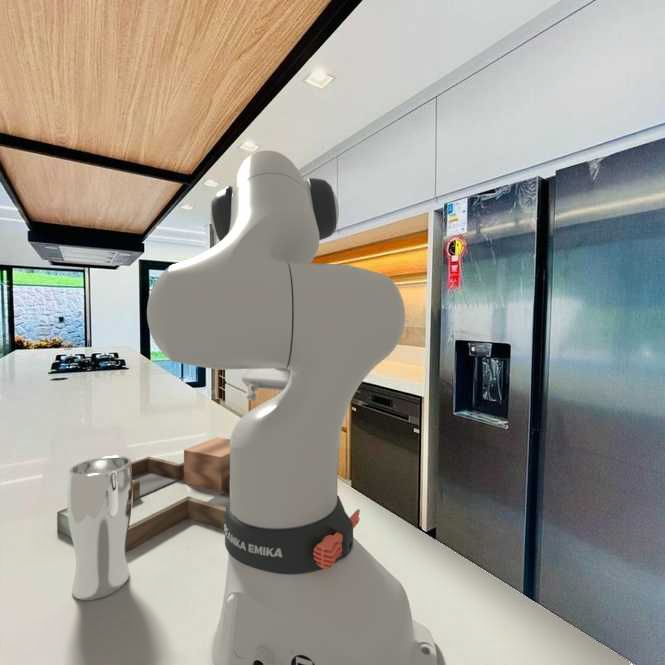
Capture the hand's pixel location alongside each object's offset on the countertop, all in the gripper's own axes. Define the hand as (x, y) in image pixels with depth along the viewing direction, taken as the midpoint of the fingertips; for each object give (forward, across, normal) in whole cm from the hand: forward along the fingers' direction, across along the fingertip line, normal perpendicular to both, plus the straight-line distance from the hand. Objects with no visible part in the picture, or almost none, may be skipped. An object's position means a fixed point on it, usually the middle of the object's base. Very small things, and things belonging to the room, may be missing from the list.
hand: (264, 401), depth 93 cm
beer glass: (+43, +11, -23) cm, 50 cm away
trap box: (+28, 0, -9) cm, 29 cm away
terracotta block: (+21, 0, -1) cm, 21 cm away
